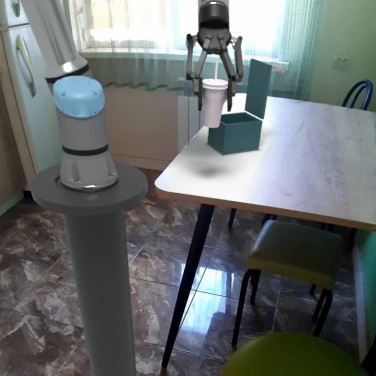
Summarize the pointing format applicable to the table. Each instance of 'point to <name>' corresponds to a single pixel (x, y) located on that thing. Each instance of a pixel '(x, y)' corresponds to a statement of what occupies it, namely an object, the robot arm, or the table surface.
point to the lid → (259, 86)
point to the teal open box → (236, 133)
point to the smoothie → (213, 99)
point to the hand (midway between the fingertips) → (215, 107)
